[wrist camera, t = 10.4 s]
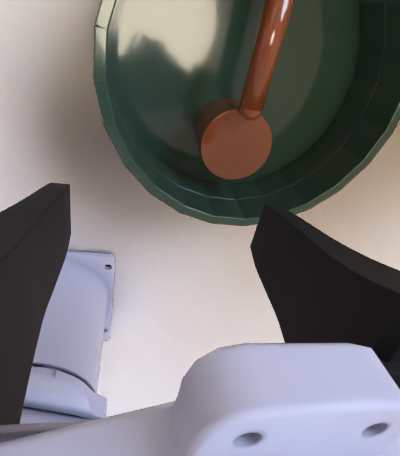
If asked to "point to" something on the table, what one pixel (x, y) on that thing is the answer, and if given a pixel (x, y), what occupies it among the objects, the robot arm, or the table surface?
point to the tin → (233, 87)
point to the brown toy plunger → (245, 106)
